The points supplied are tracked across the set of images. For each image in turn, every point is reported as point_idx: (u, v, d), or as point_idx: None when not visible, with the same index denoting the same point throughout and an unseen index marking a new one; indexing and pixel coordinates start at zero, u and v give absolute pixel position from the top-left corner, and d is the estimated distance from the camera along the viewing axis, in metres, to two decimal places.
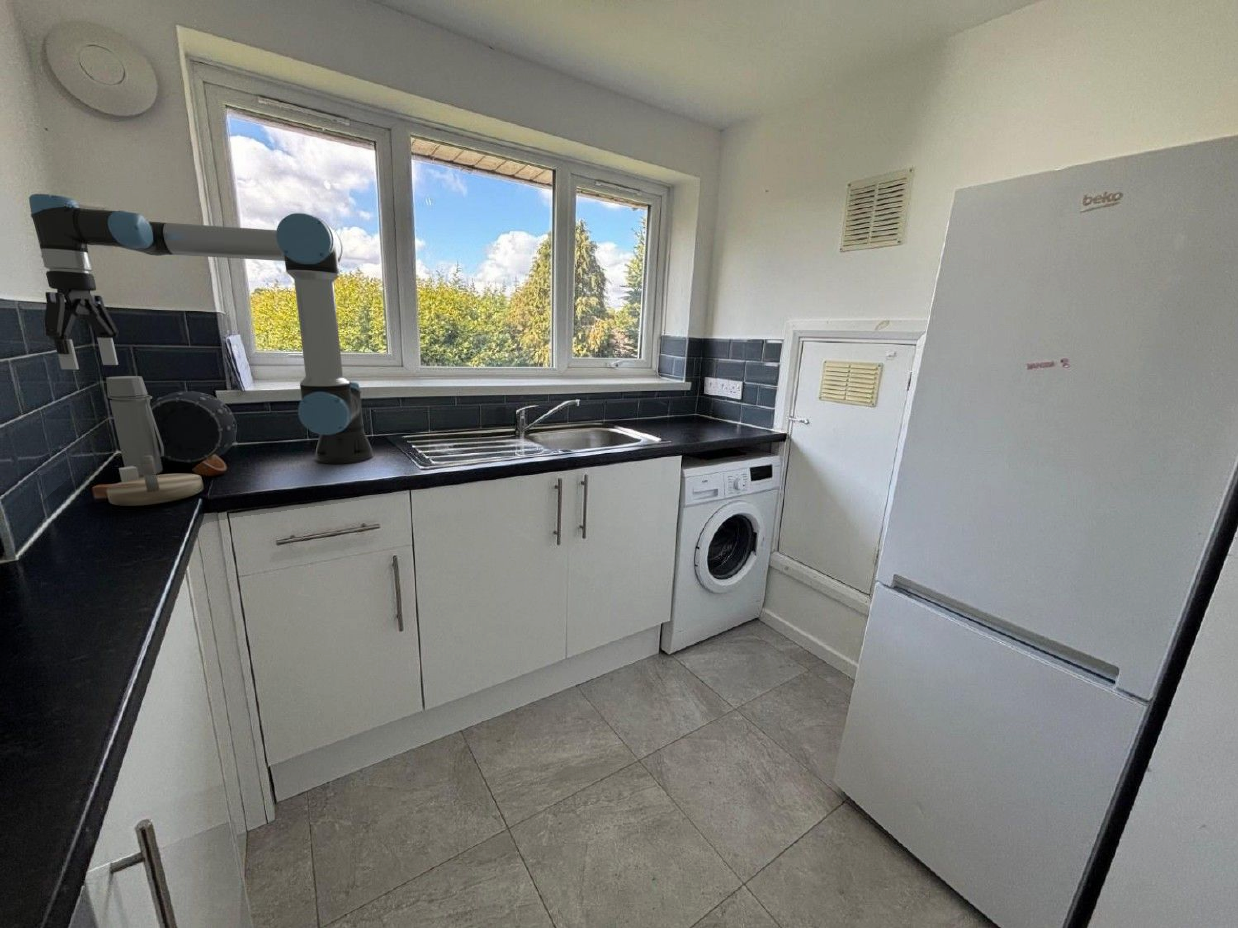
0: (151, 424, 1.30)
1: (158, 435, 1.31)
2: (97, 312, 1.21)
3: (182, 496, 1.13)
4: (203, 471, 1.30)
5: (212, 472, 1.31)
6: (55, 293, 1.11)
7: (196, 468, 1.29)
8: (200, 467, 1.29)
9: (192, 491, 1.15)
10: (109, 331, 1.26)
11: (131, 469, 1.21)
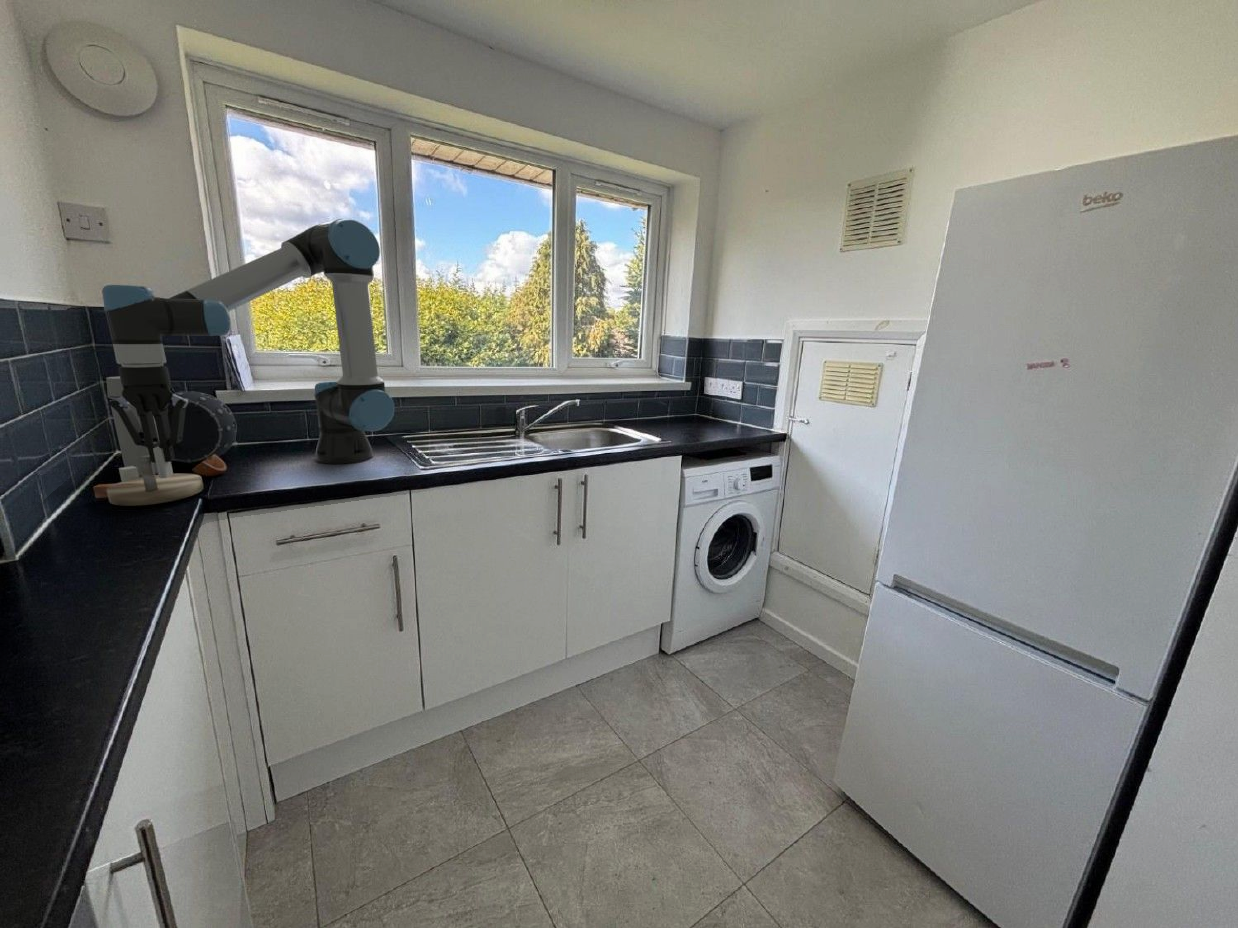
0: None
1: None
2: (155, 412, 1.06)
3: (181, 496, 1.13)
4: (203, 471, 1.30)
5: (212, 472, 1.31)
6: None
7: (196, 468, 1.29)
8: (200, 467, 1.29)
9: (191, 492, 1.15)
10: (162, 439, 1.07)
11: (131, 469, 1.21)
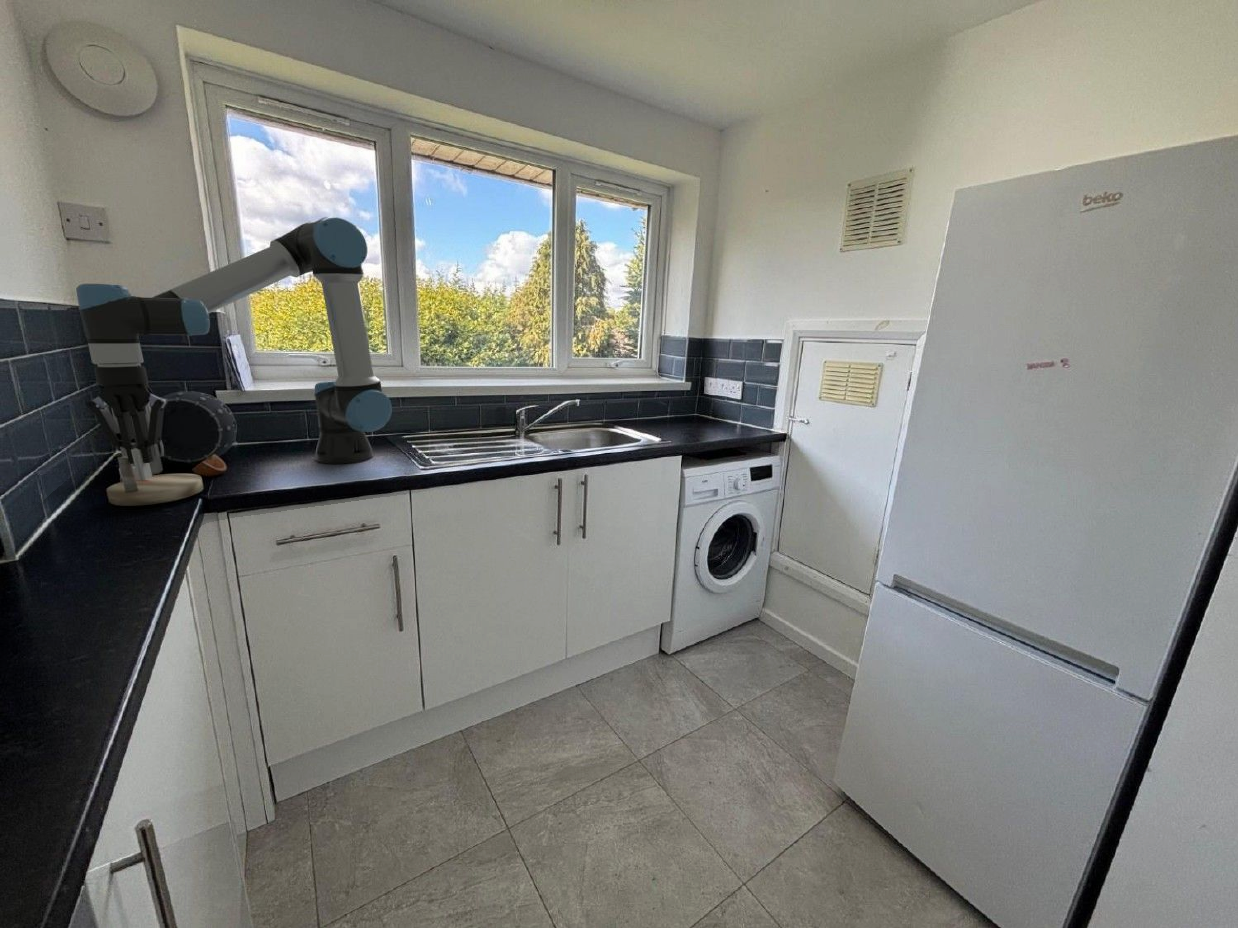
0: None
1: None
2: (132, 412, 1.04)
3: (153, 502, 1.09)
4: (203, 471, 1.30)
5: (212, 472, 1.31)
6: None
7: (196, 468, 1.29)
8: (200, 467, 1.29)
9: (167, 498, 1.11)
10: (139, 440, 1.06)
11: None
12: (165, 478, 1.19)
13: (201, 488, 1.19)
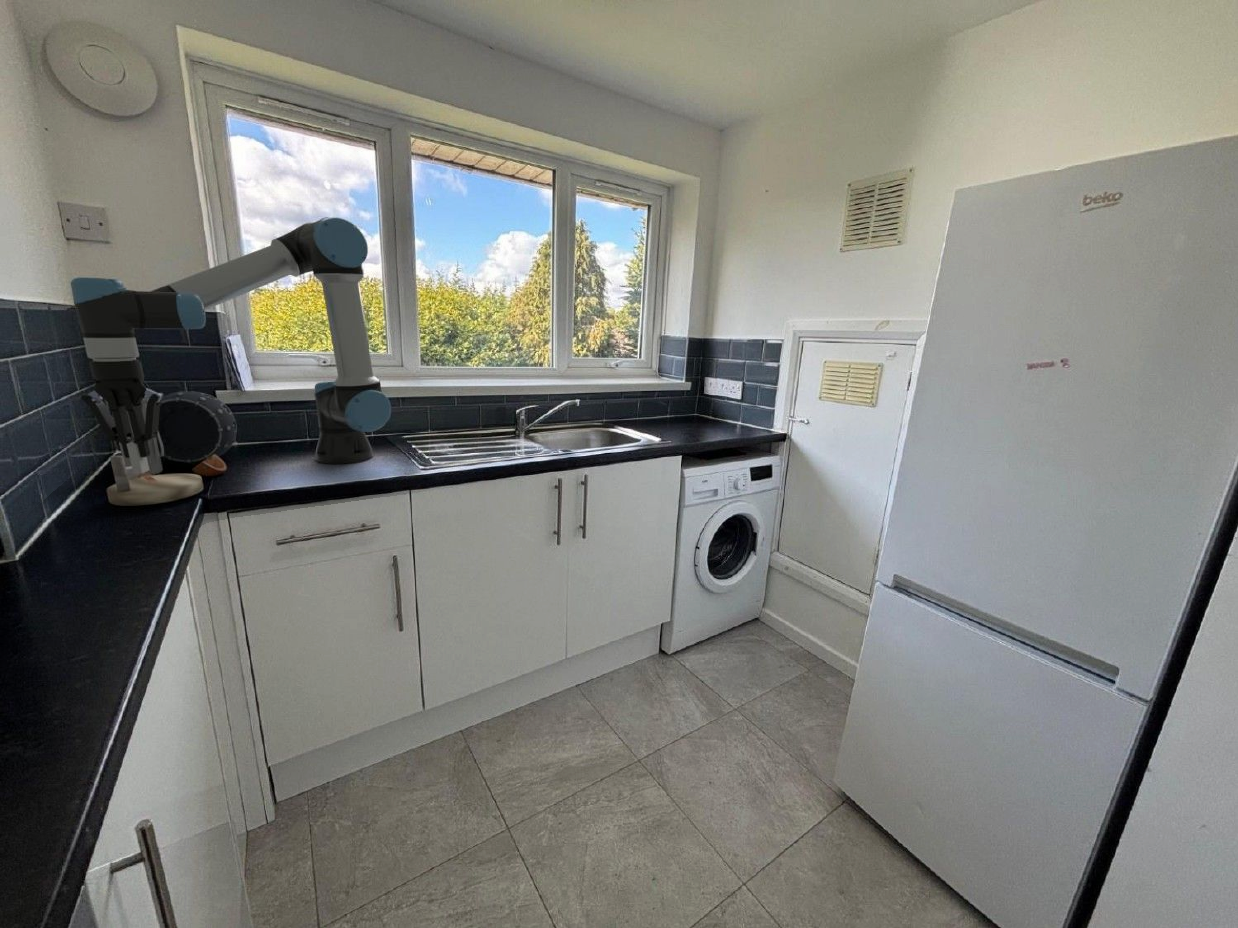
0: None
1: (158, 435, 1.31)
2: (128, 407, 1.04)
3: (138, 503, 1.08)
4: (203, 471, 1.30)
5: (212, 472, 1.31)
6: None
7: (196, 468, 1.29)
8: (200, 467, 1.29)
9: (152, 500, 1.09)
10: (136, 434, 1.06)
11: (131, 469, 1.21)
12: (171, 478, 1.19)
13: (195, 491, 1.16)
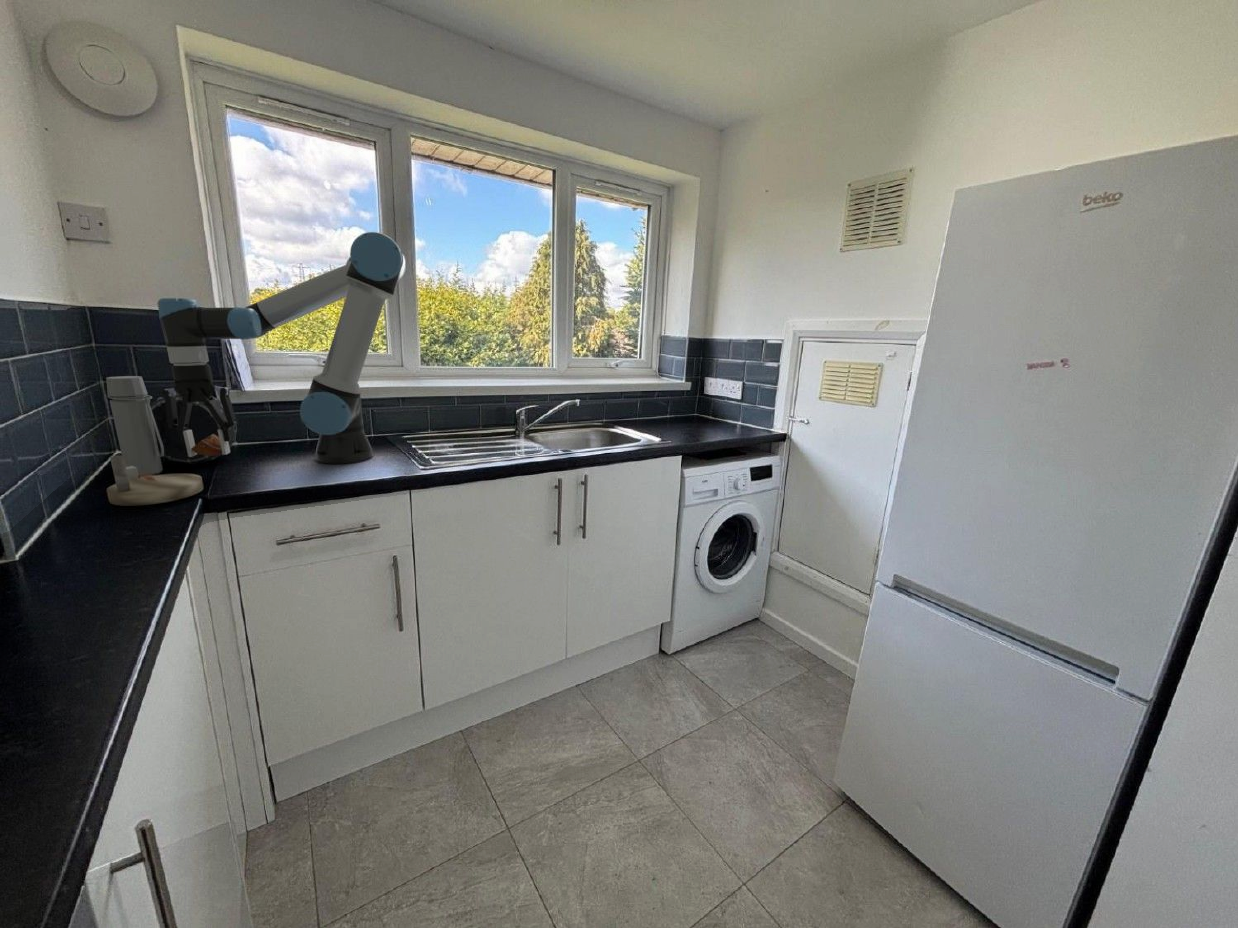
0: (151, 424, 1.30)
1: (158, 435, 1.31)
2: (206, 402, 1.28)
3: (138, 503, 1.08)
4: (202, 450, 1.29)
5: (211, 451, 1.30)
6: None
7: (195, 447, 1.28)
8: (199, 446, 1.28)
9: (152, 500, 1.09)
10: (220, 422, 1.30)
11: (131, 469, 1.21)
12: (171, 478, 1.19)
13: (195, 491, 1.16)
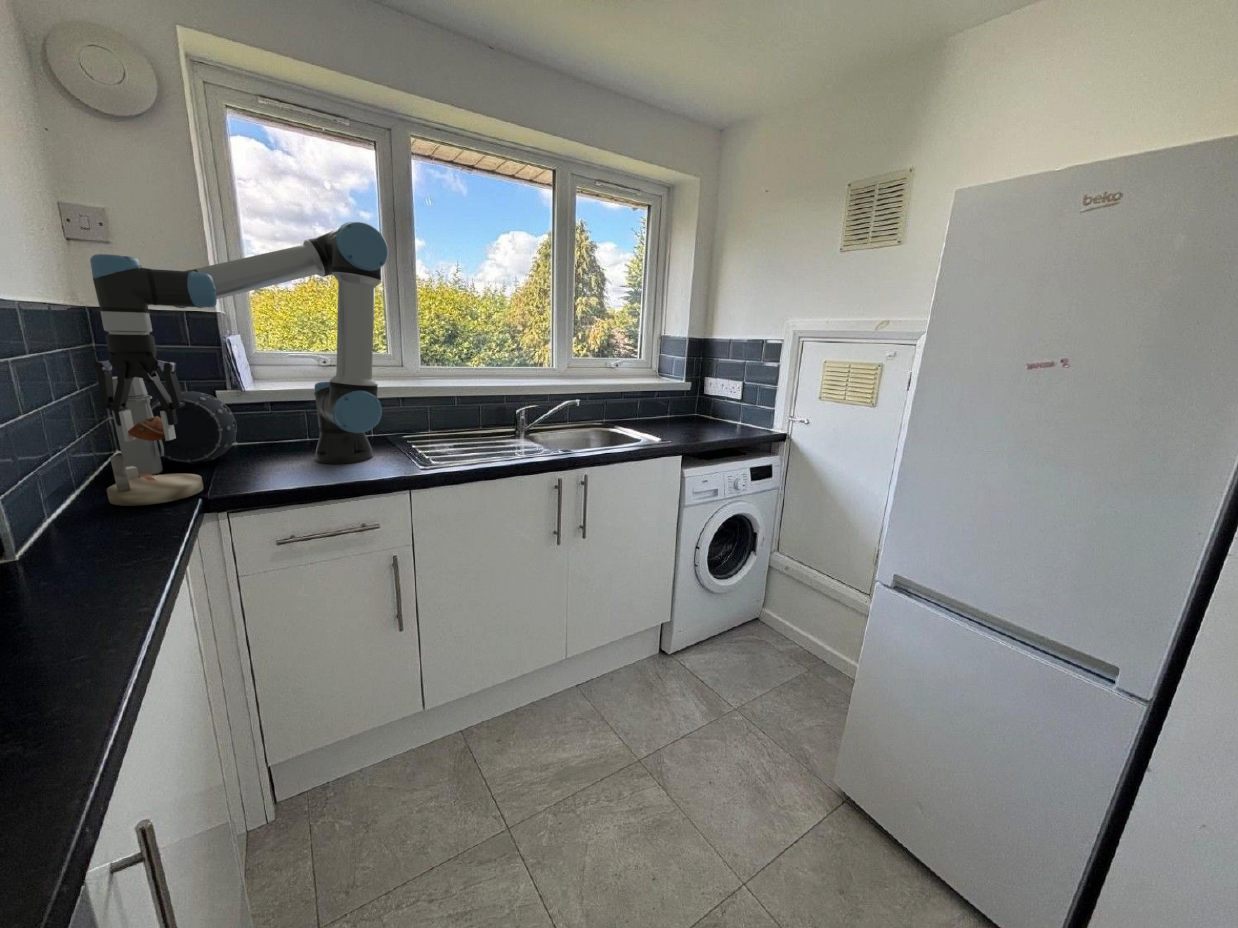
0: None
1: None
2: (146, 378, 1.10)
3: (138, 503, 1.08)
4: (140, 434, 1.11)
5: (152, 435, 1.12)
6: None
7: (132, 430, 1.10)
8: (136, 429, 1.10)
9: (152, 500, 1.09)
10: (163, 403, 1.12)
11: (131, 469, 1.21)
12: (171, 478, 1.19)
13: (195, 491, 1.16)
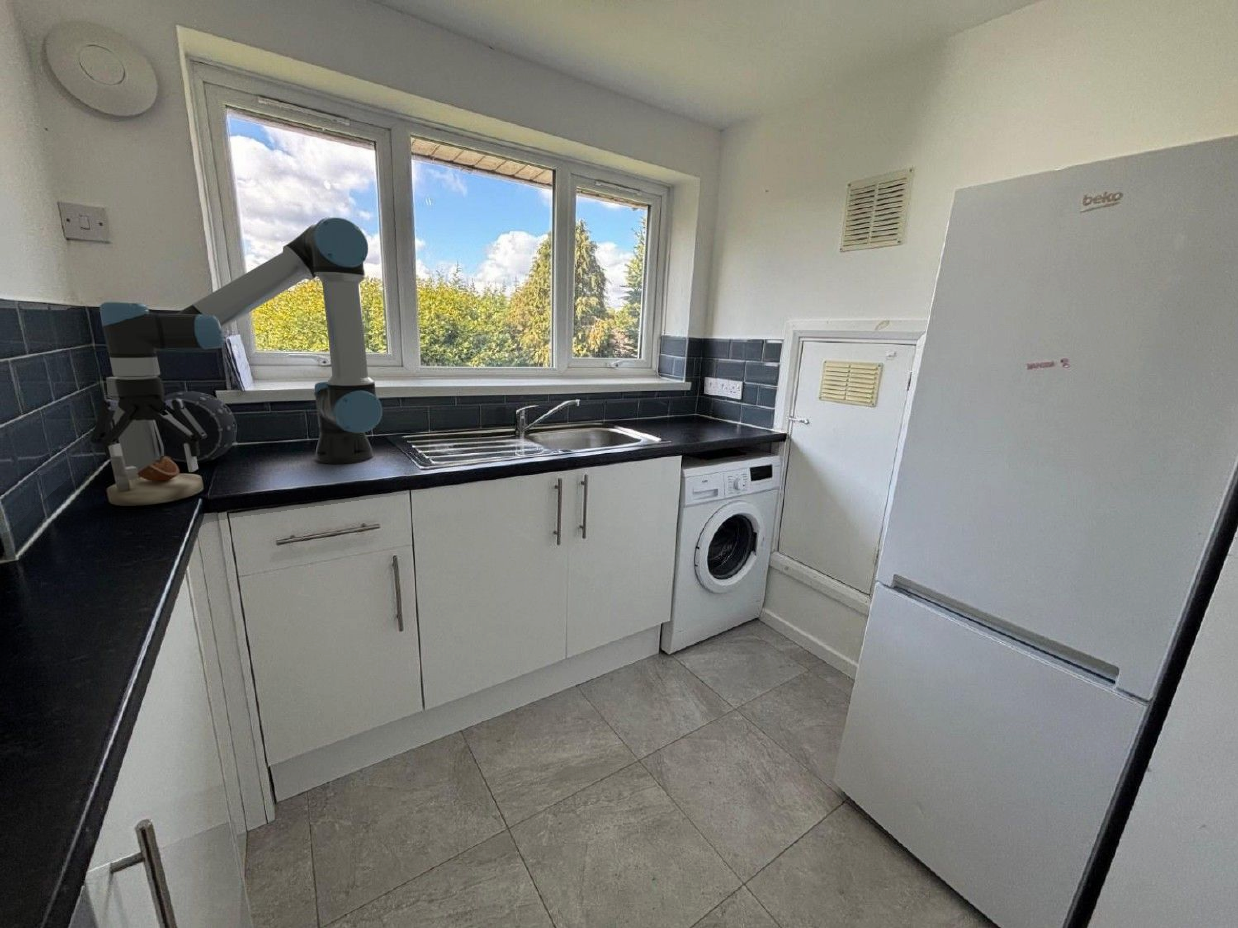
0: (151, 424, 1.30)
1: (158, 435, 1.31)
2: (159, 418, 1.12)
3: (138, 503, 1.08)
4: (150, 476, 1.13)
5: (161, 477, 1.14)
6: None
7: (141, 472, 1.12)
8: (146, 471, 1.12)
9: (152, 500, 1.09)
10: (184, 437, 1.15)
11: (131, 469, 1.21)
12: None
13: (195, 491, 1.16)
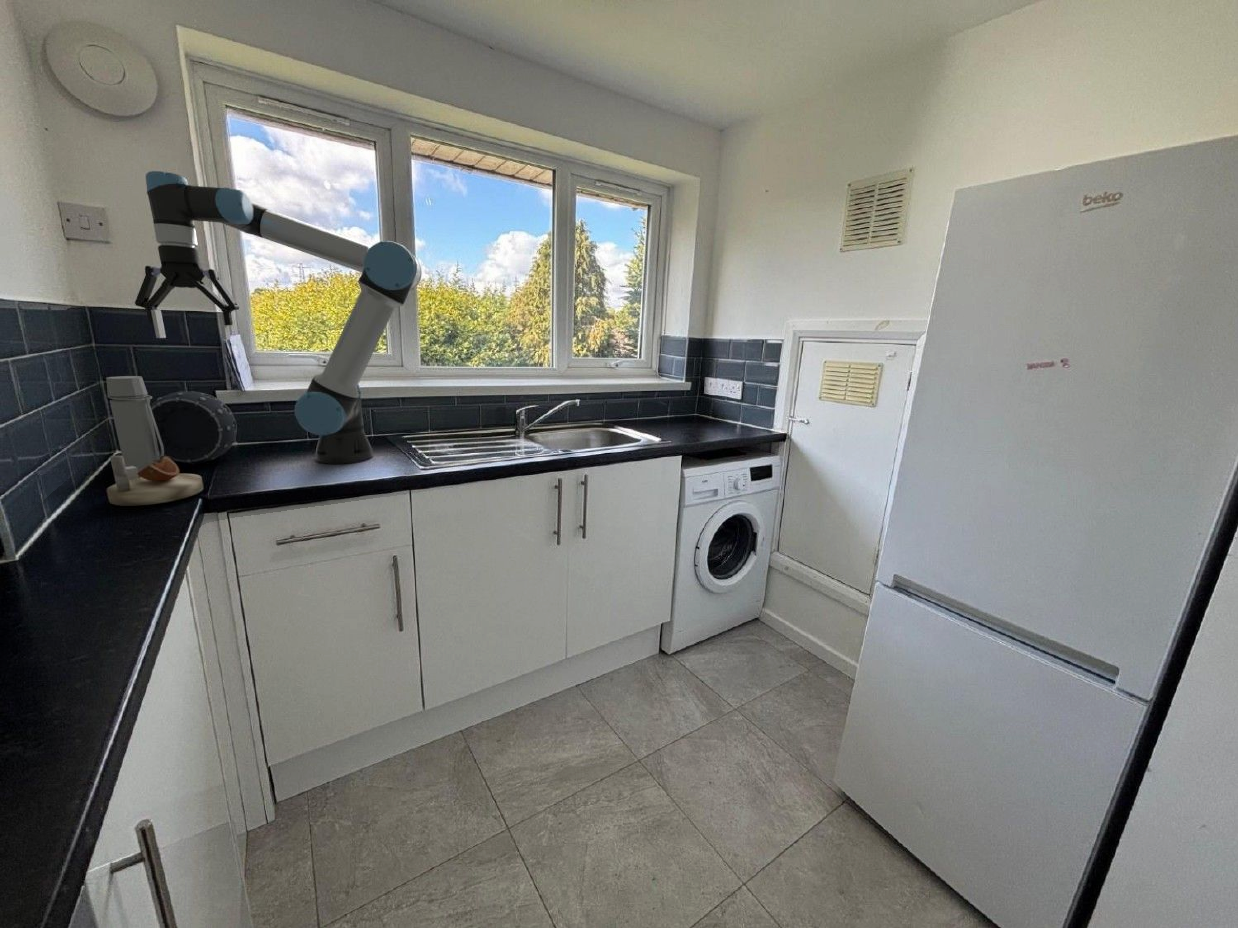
0: (151, 424, 1.30)
1: (158, 435, 1.31)
2: (197, 285, 1.23)
3: (138, 503, 1.08)
4: (150, 476, 1.13)
5: (161, 477, 1.14)
6: None
7: (141, 472, 1.12)
8: (146, 471, 1.12)
9: (152, 500, 1.09)
10: (219, 305, 1.26)
11: (131, 469, 1.21)
12: None
13: (195, 491, 1.16)
